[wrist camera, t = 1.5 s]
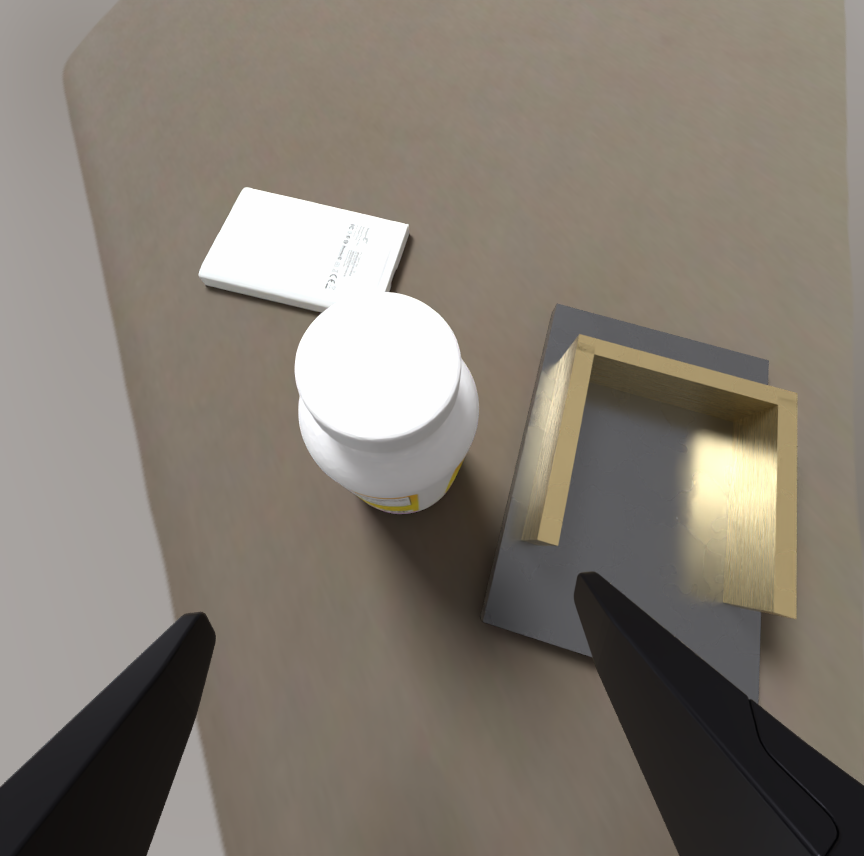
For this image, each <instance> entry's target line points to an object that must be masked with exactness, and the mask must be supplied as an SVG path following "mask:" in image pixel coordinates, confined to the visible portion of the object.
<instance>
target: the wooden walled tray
mask: <svg viewBox="0 0 864 856" xmlns="http://www.w3.org/2000/svg"><path fill="white" fill-rule="evenodd" d="M768 366H769V360H765V359H761V358H757V357H754V356H750V355H746V354H742V353H739V352H735V351H731V350H728V349H724V348H720V347H716V346H713V345H709V344H705V343H702V342H698V341H694V340H690V339H687V338H683V337H679V336H676V335H672V334H668V333H664V332H661V331H657V330H653V329H649V328H646V327H642V326H638V325H635V324H631V323H627V322H623V321H620V320H616V319H612V318H609V317H605V316H601V315H597V314H594V313H590V312H586V311H583V310H579V309H575V308H571V307H568V306H564V305H560V304H556V306H555V308H554V310H553V312H552V314H551V319H550V323H549V327H548V331H547V336H546V340H545V344H544V348H543V353H542V357H541V361H540V365H539V370H538V374H537V378H536V382H535V387H534V391H533V395H532V399H531V404H530V408H529V412H528V416H527V421H526V425H525V429H524V433H523V438H522V442H521V446H520V450H519V455H518V459H517V463H516V467H515V472H514V476H513V480H512V484H511V489H510V493H509V497H508V501H507V506H506V510H505V514H504V518H503V523H502V527H501V531H500V535H499V540H498V544H497V548H496V552H495V557H494V561H493V565H492V569H491V574H490V578H489V582H488V586H487V591H486V595H485V599H484V603H483V608H482V612H481V616H480V619H481V620H482V621H483V622H485V623H488V624H491V625H494V626H497V627H500V628H503V629H506V630H509V631H513V632H516V633H519V634H522V635H525V636H528V637H531V638H534V639H537V640H540V641H543V642H547V643H550V644H553V645H556V646H559V647H562V648H565V649H568V650H571V651H574V652H577V653H581V654H584V655H587V656H590V657H592V654H591V651H590V648H589V645H588V642H587V639H586V636H585V633H584V630H583V627H582V624H581V621H580V618H579V615H578V612H577V609H576V606H575V603H574V590H575V585H576V580H577V576H578V574H579V573H581V572H590V571H594V572H597V573H598V574H600V575H601V576H602V577H603V578H604V579H606V580H607V581H608V582H609V583H611V584H612V585H613V586H614V587H615V588H617V589H618V590H619V591H620V592H622V593H623V594H624V595H625V596H626V597H628V598H629V599H630V600H631V601H633V602H634V603H635V604H636V605H637V606H639V607H640V608H641V609H642V610H644V611H645V612H646V613H647V614H648V615H650V616H651V617H652V618H653V619H654V620H656V621H657V622H658V623H659V624H661V625H662V626H663V627H664V628H665V629H667V630H668V631H669V632H670V633H672V634H673V635H674V636H675V637H676V638H678V639H679V640H680V641H681V642H683V643H684V644H685V645H686V646H687V647H689V648H690V649H691V650H692V651H694V652H695V653H696V654H697V655H698V656H700V657H701V658H702V659H703V660H705V661H706V662H707V663H708V664H709V665H711V666H712V667H713V668H714V669H716V670H717V671H718V672H719V673H720V674H722V675H723V676H724V677H725V678H726V679H728V680H729V681H730V682H731V683H733V684H734V685H735V686H736V687H737V688H739V689H740V690H741V691H742V692H744V693H745V694H746V695H747V696H748V698H749V699H752V700H754V701H755V702H756V703H757V704H758V696H759V663H760V630H761V612H763V613H768V614H773V615H778V616H783V617H788V618H793V619H796V571H797V393H794V392H791V391H787V390H783V389H780V388H776V387H772V386H768Z"/></svg>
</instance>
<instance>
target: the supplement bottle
mask: <svg viewBox="0 0 864 856" xmlns="http://www.w3.org/2000/svg"><path fill="white" fill-rule="evenodd" d="M295 378H296V384H297V388H298V391H299V394H300V399H299V425H300V430H301V434H302V437H303V440H304V442H305V444H306V447H307V449H308V451H309V453H310V454H311V456H312V457H313V459H314V461H315V462H316V463H317V464H318V466H319V467H320V468H321V469H322V470H323V471H324V472H325V473H326V474H327V475H328V476H329V477H331V478H332V479H333V480H334V481H336V482H337V483H339V484H340V485H342V486H343V487H345V488H346V489H347V490H349V491H350V492H352V493H353V494H355V495H356V496H357V497H359V498H360V499H362V500H363V501H364V502H366V503H367V504H369V505H371V506H373V507H374V508H376V509H379V510H382V511H385V512H388V513H394V514H408V513H414V512H418V511H421V510H424V509H426V508H428V507H430V506H432V505H433V504H435V503H436V502H437V501H438V500H440V499H441V498H442V497H443V496H444V495H445V493H446V492H447V491H448V490H449V488H450V487H451V485H452V483H453V482H454V480H455V477H456V475H457V473H458V471H459V469H460V467H461V465H462V463H463V460H464V458H465V456H466V454H467V452H468V450H469V448H470V446H471V444H472V441H473V439H474V436H475V433H476V429H477V425H478V417H479V399H478V394H477V389H476V385H475V382H474V380H473V377H472V375H471V373H470V371H469V369H468V367H467V366H466V364H465V363H464V362H463V360H462V359H461V353H460V349H459V346H458V342H457V340H456V337H455V335H454V333H453V332H452V330H451V328H450V327H449V325H448V324H447V323H446V322H445V320H444V319H443V318H442V317H441V316H440V315H439V314H438V313H437V312H435V311H434V310H433V309H431V308H430V307H429V306H428V305H426V304H424V303H422V302H421V301H419V300H417V299H414V298H411V297H409V296H406V295H402V294H398V293H391V292H371V293H363V294H359V295H355V296H352V297H349V298H346V299H344V300H342V301H339V302H337V303H335V304H334V305H332V306H331V307H329V308H328V309H326V310H325V311H324V312H323V313H321V314H320V315H319V316H318V317H317V318H316V319H315V321H314V322H313V323H312V324H311V325H310V326H309V328H308V329H307V331H306V332H305V334H304V336H303V338H302V340H301V342H300V344H299V347H298V350H297V354H296V361H295Z"/></svg>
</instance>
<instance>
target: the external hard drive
mask: <svg viewBox="0 0 864 856" xmlns="http://www.w3.org/2000/svg"><path fill="white" fill-rule="evenodd" d="M408 236H409V225H408V224H404V223H399V222H395V221H390V220H385V219H381V218H377V217H373V216H369V215H364V214H361V213H356V212H352V211H347V210H343V209H339V208H334V207H330V206H326V205H321V204H317V203H313V202H308V201H304V200H300V199H296V198H291V197H287V196H282V195H278V194H273V193H269V192H265V191H260V190H255V189H251V188H244V189H243V190H242V191H241V193H240V195H239V197H238V199H237V201H236V203H235V204H234V206H233V208H232V210H231V212H230V214H229V216H228V218H227V219H226V221H225V223H224V225H223V227H222V229H221V231H220V233H219V234H218V236H217V238H216V240H215V241H214V243H213V245H212V247H211V249H210V251H209V253H208V255H207V256H206V258H205V260H204V262H203V264H202V266H201V269H200V270H199V274H198V275H199V277H200V279H201V280H202V281H203V282H204V284H205V285H207V286H211V287H216V288H220V289H224V290H228V291H232V292H237V293H241V294H245V295H249V296H254V297H258V298H262V299H266V300H270V301H274V302H279V303H283V304H287V305H291V306H295V307H300V308H304V309H308V310H312V311H316V312H321V313H323V312H324V311H325V310H326V309H328V308H329V307H331V306H332V305H334V304H335V303H337V302H339V301H342V300H344V299H346V298H349V297H352V296H355V295H359V294H363V293H371V292H389V291H390V288H391V282H392V278H393V276H394V273H395V270H397V268H398V265H399V262H400V259H401V256H402V253H403V251H404V248H405V245H406V242H407V239H408Z"/></svg>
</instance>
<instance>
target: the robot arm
mask: <svg viewBox="0 0 864 856" xmlns="http://www.w3.org/2000/svg"><path fill="white" fill-rule="evenodd" d="M574 603H575V606H576V609H577V612H578V615H579V618H580V621H581V624H582V627H583V630H584V633H585V636H586V639H587V642H588V645H589V648H590V651H591V654H592V657H593V660H594V663H595V666H596V669H597V671H598V673H599V676H600V678H601V680H602V683H603V685H604V687H605V689H606V692H607V694H608V696H609V698H610V701H611V703H612V705H613V707H614V710H615V712H616V714H617V716H618V719H619V721H620V723H621V725H622V728H623V730H624V732H625V734H626V737H627V739H628V741H629V743H630V746H631V748H632V750H633V752H634V755H635V757H636V759H637V761H638V764H639V766H640V768H641V770H642V773H643V775H644V777H645V779H646V782H647V784H648V786H649V788H650V791H651V793H652V795H653V797H654V800H655V802H656V804H657V806H658V809H659V811H660V813H661V815H662V818H663V820H664V822H665V824H666V827H667V829H668V831H669V833H670V836H671V838H672V840H673V842H674V845H675V847H676V849H677V851H678V854H679V856H864V785H862V784H861V783H860V782H858V781H857V780H856V779H854V778H853V777H851V776H850V775H849V774H847V773H846V772H845V771H843V770H842V769H841V768H839V767H838V766H837V765H835V764H834V763H833V762H831V761H830V760H829V759H827V758H826V757H825V756H823V755H822V754H821V753H819V752H818V751H817V750H815V749H814V748H813V747H811V746H810V745H808V744H807V743H806V742H805V741H803V740H802V739H801V738H800V737H798V736H797V735H796V734H794V733H793V732H792V731H791V730H789V729H788V728H787V727H786V726H784V725H783V724H782V723H781V722H779V721H778V720H777V719H776V718H774V717H773V716H772V715H771V714H769V713H768V712H767V711H766V710H765V709H763V708H762V707H761V706H760V705H758V704H757V703H756V702H755V701H754V700H752V699H749V698H748V696H747V695H746V694H745V693H744V692H742V691H741V690H740V689H739V688H737V687H736V686H735V685H734V684H733V683H731V682H730V681H729V680H728V679H726V678H725V677H724V676H723V675H722V674H720V673H719V672H718V671H717V670H716V669H714V668H713V667H712V666H711V665H709V664H708V663H707V662H706V661H705V660H703V659H702V658H701V657H700V656H698V655H697V654H696V653H695V652H694V651H692V650H691V649H690V648H689V647H687V646H686V645H685V644H684V643H683V642H681V641H680V640H679V639H678V638H676V637H675V636H674V635H673V634H672V633H670V632H669V631H668V630H667V629H665V628H664V627H663V626H662V625H661V624H659V623H658V622H657V621H656V620H654V619H653V618H652V617H651V616H650V615H648V614H647V613H646V612H645V611H644V610H642V609H641V608H640V607H639V606H637V605H636V604H635V603H634V602H633V601H631V600H630V599H629V598H628V597H626V596H625V595H624V594H623V593H622V592H620V591H619V590H618V589H617V588H615V587H614V586H613V585H612V584H611V583H609V582H608V581H607V580H606V579H604V578H603V577H602V576H601V575H600V574H598V573H597V572H594V571H590V572H581V573H579V574H578V576H577V580H576V585H575V590H574ZM215 641H216V635H215V631H214V629H213V627H212V625H211V623H210V622H209V620H208V618H207V616H206V614H205V613H203V612H195V613H187V614H184V615H183V616H181V617H180V618H179V619H178V620H177V621H176V622H175V623H174V624H173V625H171V626H170V627H169V628H168V629H167V630H166V631H165V632H164V633H163V634H162V635H161V636H160V637H159V638H158V639H157V640H156V641H155V642H153V643H152V644H151V645H150V646H149V647H148V648H147V649H146V650H145V651H144V652H143V653H142V654H141V655H140V656H139V657H137V658H136V659H135V660H134V661H133V662H132V663H131V664H130V665H129V666H128V667H127V668H126V669H125V670H124V671H123V672H122V673H120V675H119V676H117V677H116V678H115V679H114V680H113V681H112V682H111V683H110V684H109V685H108V686H107V687H106V688H105V689H104V690H102V691H101V692H100V693H99V694H98V695H97V696H96V697H95V698H94V699H93V700H92V701H91V702H90V703H89V704H88V705H87V706H85V707H84V708H83V709H82V710H81V711H80V712H79V713H78V714H77V715H76V716H75V717H74V718H73V719H72V720H71V721H69V723H67V724H66V725H65V726H64V727H63V728H62V729H61V730H60V731H59V732H58V733H57V734H56V735H55V736H54V737H53V738H52V739H50V740H49V741H48V742H47V743H46V744H45V745H44V746H43V747H42V748H41V749H40V750H39V751H38V752H37V753H35V754H34V755H33V756H32V758H30V759H29V760H28V761H27V762H26V763H25V764H24V765H23V766H22V767H21V768H20V769H18V770H17V771H16V772H15V773H14V774H13V775H12V776H11V777H10V778H9V779H8V780H7V781H6V782H5V783H4V784H3V785H2V786H0V856H146V855H147V852H148V850H149V847H150V844H151V842H152V839H153V836H154V833H155V830H156V827H157V825H158V822H159V819H160V816H161V813H162V811H163V808H164V805H165V802H166V800H167V797H168V794H169V791H170V789H171V786H172V783H173V780H174V777H175V775H176V772H177V769H178V766H179V763H180V761H181V757H182V755H183V752H184V749H185V747H186V744H187V741H188V738H189V735H190V733H191V730H192V727H193V724H194V721H195V718H196V715H197V711H198V708H199V704H200V701H201V697H202V693H203V689H204V685H205V681H206V677H207V673H208V670H209V666H210V662H211V658H212V654H213V650H214V646H215Z"/></svg>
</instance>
